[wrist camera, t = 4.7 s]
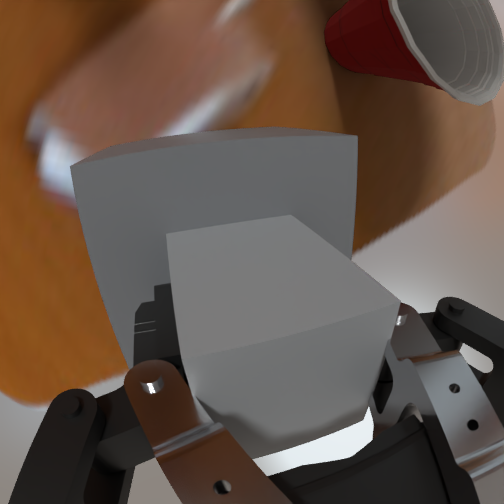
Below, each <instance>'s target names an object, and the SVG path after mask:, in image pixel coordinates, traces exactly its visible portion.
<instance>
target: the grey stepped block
mask: <svg viewBox="0 0 504 504" xmlns="http://www.w3.org/2000/svg"><path fill="white" fill-rule="evenodd" d="M357 160H358V136H355V135H348V134H341V133H333V132H325V131H317V130H307V129H297V128H286V127H259V128H243V129H229V130H218V131H208V132H198V133H190V134H182V135H174V136H167V137H160V138H153V139H147V140H141V141H135V142H130V143H124V144H119V145H114V146H110V147H108V148H106V149H104V150H102V151H100V152H97V153H95V154H93V155H91V156H89V157H87V158H85V159H83V160H81V161H79V162H77V163H76V164H74V165H72V166H70V169H71V175H72V181H73V187H74V192H75V197H76V202H77V207H78V212H79V216H80V221H81V225H82V229H83V233H84V237H85V241H86V245H87V249H88V253H89V256H90V260H91V263H92V267H93V270H94V274H95V277H96V280H97V283H98V287H99V290H100V293H101V296H102V299H103V302H104V305H105V308H106V311H107V313H108V316H109V319H110V322H111V324H112V327H113V330H114V332H115V335H116V338H117V340H118V343H119V345H120V348H121V350H122V353H123V355H124V358H125V360H126V362H127V365H128V367H129V369H131V368H133V354H134V334H135V333H134V325H135V312H136V311H137V309H138V308H139V306H140V304H141V303H143V302H149V301H154V286H155V285H161V284H167V283H171V288H172V296H173V304H174V312H175V319H176V326H177V333H178V340H179V346H180V353H181V359H182V362H183V366H184V369H185V373H186V376H187V380H188V383H189V386H190V390H191V393H192V396H195V397H196V398H197V400H198V401H199V403H200V404H201V405H202V407H203V408H204V410H205V411H206V412H207V414H208V415H209V416H210V418H211V419H212V420H213V421H214V422H215V423H217V422H219V423H221V424H222V425H223V426H224V427H225V428H226V429H227V430H228V431H229V432H230V434H231V435H232V436H233V437H234V439H235V440H236V441H237V442H238V443H239V445H240V446H241V447H242V448H243V449H244V451H245V452H246V453H247V454H248V455H249V457H250V458H251V459H255V458H259V457H262V456H266V455H269V454H273V453H276V452H280V451H283V450H286V449H289V448H292V447H295V446H298V445H301V444H304V443H307V442H310V441H313V440H316V439H318V438H321V437H323V436H326V435H329V434H331V433H334V432H336V431H339V430H341V429H344V428H346V427H349V426H351V425H353V424H356V423H358V422H360V421H362V420H363V419H364V417H365V414H366V412H367V409H368V406H369V404H368V400H369V397H370V394H371V392H373V391H374V390H375V387H376V384H377V382H378V379H379V376H380V373H381V370H382V367H383V364H384V360H385V355H384V351H385V348H386V345H387V341H388V339H391V337H392V333H393V330H394V326H395V322H396V318H397V315H398V311H399V306H400V302H401V301H400V300H399V299H398V298H397V297H395V296H394V295H393V294H392V293H391V292H389V291H388V290H387V289H386V288H385V287H383V286H382V285H381V284H380V283H378V282H377V281H376V280H375V279H374V278H372V277H371V276H370V275H369V274H367V273H366V272H365V271H363V270H362V269H361V268H360V267H359V266H357V265H356V264H355V263H353V262H352V261H351V257H352V247H353V235H354V223H355V208H356V189H357Z"/></svg>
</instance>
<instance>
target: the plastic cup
mask: <svg viewBox="0 0 504 504" xmlns="http://www.w3.org/2000/svg"><path fill="white" fill-rule="evenodd" d="M324 35H325V44H326V46H327V48H328V50H329V52H330V54H331V56H332V57H333V58H334V59H335V60H336V61H337V62H338V63H339V64H340V65H341V66H343V67H345V68H346V69H348V70H350V71H354V72H357V73H365V74H373V75H376V76H383V77H389V78H395V79H402V80H408V81H413V82H419V83H423V84H425V85H428V86H433V87H436V88H437V89H441V90H444V91H445V92H447V93H448V94H449V95H451V96H452V97H453V98H454V99H457V100H459V101H463V102H467V103H471V104H475V105H479V106H480V105H482V104H484V103H486V102H488V101H490V100H492V99H494V98H495V97H496V95H497V93H498V91H499V89H500V87H501V85H502V83H503V81H504V42H503V36H502V32H501V28H500V25H499V23H498V20H497V18H496V15H495V13H494V11H493V8H492V6H491V4H490V2H489V0H349V1H348V2H347V3H346V4H345V5H343V7H342V8H341V9H340V10H338V11H337V12H336V13H335V14H334V15H333V16H332V17H331V18H329V21H328V22H327V24H326V28H325V31H324Z"/></svg>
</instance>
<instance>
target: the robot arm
mask: <svg viewBox="0 0 504 504" xmlns="http://www.w3.org/2000/svg"><path fill="white" fill-rule="evenodd" d="M134 333H135V334H134V354H133V368H131V369H130V370H129V371H128V373H127V374H126V376H125V379H124V385H123V386H122V387H120V388H119V389H117V390H115V391H113V392H110V393H108V394H105V395H103V396H100V397H98V398H95V397H94V396H93V395H92V394H91V393H90V392H88V391H86V390H83V389H70V390H67V391H64V392H62V393H61V394H59V395H58V396H57V397H56V398H55V399H54V400H53V401H52V403H51V404H50V406H49V408H48V410H47V412H46V414H45V416H44V419H43V421H42V423H41V425H40V427H39V429H38V431H37V433H36V436H35V438H34V440H33V442H32V445H31V447H30V449H29V451H28V454H27V456H26V459H25V461H24V463H23V466H22V468H21V471H20V473H19V476H18V479H17V481H16V484H15V487H14V489H13V492H12V495H11V498H10V500H9V503H8V504H127V502H128V497H129V492H130V488H131V483H132V479H133V474H134V470H135V466H136V465H138V464H141V463H143V462H145V461H148V460H150V459H152V458H154V457H156V459H157V461H158V463H159V465H160V467H161V469H162V470H163V472H164V474H165V476H166V477H167V479H168V481H169V483H170V484H171V486H172V488H173V489H174V491H175V493H176V494H177V496H178V497H179V499H180V500H181V502H182V504H504V321H502V320H500V319H499V318H497V317H495V316H493V315H491V314H489V313H487V312H485V311H483V310H481V309H479V308H478V307H476V306H474V305H472V304H469V303H468V302H466V301H464V300H462V299H459V298H455V297H445V298H442V299H441V300H439V302H438V304H437V307H436V310H435V312H430V313H420V314H418V313H417V311H416V310H415V309H414V308H412V307H411V306H409V305H407V304H404V303H401V302H400V306H399V311H398V315H397V318H396V322H395V326H394V330H393V333H392V337H391V339H388V341H387V345H386V348H385V351H384V355H385V360H384V364H383V367H382V370H381V373H380V376H379V379H378V382H377V384H376V387H375V390H374V391H373V392H371V394H370V397H369V400H368V404H369V407H370V411H371V414H372V418H373V423H374V430H373V440H372V441H371V442H370V443H368V444H367V445H366V446H365V447H364V448H362V449H361V450H360V451H359V452H357V453H356V454H355V455H353V456H352V457H350V458H346V459H341V460H335V461H330V462H323V463H316V464H309V465H302V466H299V467H296V468H293V469H290V470H287V471H284V472H280V473H277V474H274V475H270V476H266V475H265V474H264V472H262V470H261V469H260V468H259V467H258V466H257V465H256V463H255V462H254V461H253V460H252V459H251V458H250V457H249V455H248V454H247V453H246V452H245V451H244V449H243V448H242V447H241V446H240V445H239V443H238V442H237V441H236V440H235V439H234V437H233V436H232V435H231V434H230V432H229V431H228V430H227V429H226V428H225V427H224V426H223V425H222V424H221V423H219V422H217V423H215V422H214V421H213V420H212V419H211V418H210V416H209V415H208V414H207V412H206V411H205V410H204V408H203V407H202V405H201V404H200V403H199V401H198V400H197V398H196V397H195V396H192V393H191V390H190V386H189V383H188V380H187V376H186V373H185V369H184V366H183V362H182V359H181V353H180V346H179V340H178V333H177V326H176V319H175V312H174V304H173V296H172V288H171V283H167V284H161V285H155V286H154V301H149V302H143V303H141V304H140V306H139V308H138V309H137V311H136V312H135V325H134ZM463 343H465V344H466V345H468V346H470V347H472V348H473V349H475V350H477V351H479V352H480V353H482V354H484V355H485V356H487V357H489V358H490V359H491V360H492V362H493V370H492V371H491V372H489V373H483V372H481V371H479V370H477V369H476V368H474V367H472V366H471V365H469V364H468V363H466V361H465V359H464V357H463V356H462V354H461V353H460V352H459V351H460V349H461V346H462V344H463Z"/></svg>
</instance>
